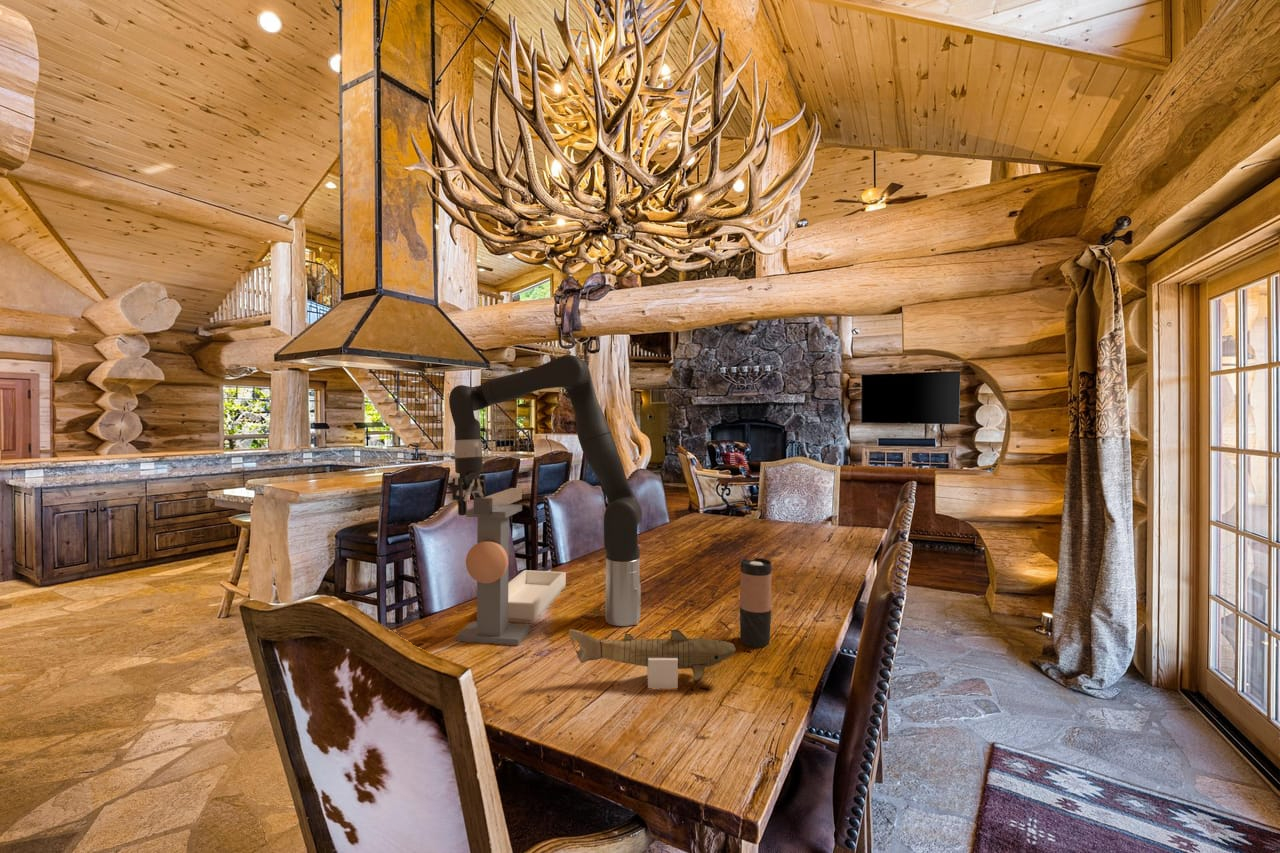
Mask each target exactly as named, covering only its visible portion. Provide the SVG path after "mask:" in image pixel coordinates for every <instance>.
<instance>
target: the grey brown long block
mask: <svg viewBox="0 0 1280 853" xmlns="http://www.w3.org/2000/svg"><path fill="white" fill-rule="evenodd" d="M522 499H523V488H521V487H518V488H517V487H510V488H507V489H504V490H502V491H499V492H495V493H492V494H490V495H487V496H486V495H485V496H483V498H479V497H476V498H474V497H473V508H474V514H477V515H491V514H492V511H494V510H497V509H499V508H501V507H504V506H506V505H509V504H513V503H516V502H518V501H520V500H522Z"/></svg>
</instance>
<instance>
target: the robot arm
mask: <svg viewBox="0 0 1280 853" xmlns="http://www.w3.org/2000/svg"><path fill="white" fill-rule="evenodd" d="M554 388H555V389H556V388H563V389H564V390H565V391H566V394H567V395H568V398H569V401H570V403H571V404H572V408H573V412H574V417H575V419H574V420H575V427H576V434H577V439H578V442H579V444H580V448H581V451H582V453H583V456H584V458H585V460H586V462H587V464H588V466H589V467H590V470H592V472H593V473H594V475H595V476H596V477H597V479H598V481H599V482H600V484H601V486H602V487H603V490H604V491H603V492H604V493H605V497H606V501H607V504H608V506H607V507H606V509H605V511H604V516H603V547H604V550H605V605H604V607H605V609H604V610H605V611H604V614H605V618H604V620H605V622H606V623H607V624H609V625H611V626H616V627H628V626H637V625H638V623H639V622H640V619H641V594H642V593H641V591H642V590H641V588H642V587H641V582H640V564H641V563H640V562H641V561H640V558H641V555H640V554H641V553H640V551H641V549H640V546H639V543H638V540H639V539H638V538H639V537H638V536H639V534H638V533H639V532H638V526H639V524H640V522H641V520H642V517H643V516H642V507H641V505H640V503H639V501H638V499H637V496H636V495H635V493H634V491H633V488H632V487H631V485H630V482H629V480H628V479H627V476H626V473H625V469H624V464H623V462H622V459H621V456H620V453H619V450H618V447H617V444H616V442H615V439H614V435H613V434H612V431H611V429H610V426H609V423H608V422H607V419H606V417H605V414H604V412H603V409H602V408H601V406H600V403H599V401H598V398H597V395H596V392H595V387H594V384H593V379H592V376H591V371H590V367H588V365H587V362H585V360H583V359H581V358H580V357H578V356H575V355H572V354H563V355H561V356H558V357H557V358H554V359H552V360H550V361H548V362H545V363H544V364H543V363H542V364H541V365H538V366H536V367H533V368H531V369H526V370H523V371H520V372H515V373H511V374H507V375H502V376H500V377H499V376H498V377H496V378H492V379H489V380H488V379H487V380H486V381H485V382H483V384H480V385H477V386H467V385H465V384H464V385H463V384H460V385H457V386H454V388H452V389H451V391H450V394H449V397H448V406H449V410H450V414H451V417H452V420H453V424H454V472H455V473H456V474H459V477H453V478H452V492H451V493H452V494H451V495H452V500H454V501H456V502H457V514H458V516H466V510H468V509H467V507H468V505H467V504H468V502H467V499H468V496H469V495H471V494H472V496H473V499H474V498H476V497H479V498H483V497H484V496H486V495H487V484H486V475H485V474H479V473H481V472H483V471H484V465H483V464H484V463H483V462H484V460H483V459H484V458H483V444H482V433H481V432H482V431H481V430H482V429H481V423H480V421H479V420H478V419H476V417H475V412H476V411H479V410H483V409H486V408H488V407H490V406H493V405H496V404H500V403H505V402H508V401H512V400H516V399H520V398H522V397H524V396H527V395H528V394H531V393H534V392H537V391H540V390H545V389H554Z"/></svg>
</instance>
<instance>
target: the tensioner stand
mask: <svg viewBox="0 0 1280 853" xmlns="http://www.w3.org/2000/svg"><path fill="white" fill-rule="evenodd" d="M522 511H523V504H516V503H515V504H513V503H511V504H509V505H506V506H504V507H501V508H499V509H497V510H494V511H492V514H491V515H477V514H474V507H472V508H469V509H467V510H466V515H465V517H466V518H477V525H476V526H477V528H476V529H477V530H476V531H477V535H476V537H477V540H476V541H477V543H476V544H475V545H473V546H472V547H470V549H469V550H468V552H467V554H466V557H465V567H466V570H467V572H468V573H469V575H470V577H471V578H472V579H473V580H475V581H476V621H475V620H472V621H471V622H470V623H468V624H467V625H466V626H465V627H463V628H462V630H460V631H459V632H458V633H457V634H455V641H456V640H457V641H456V642H461V641H470V642H469V643H474V642H481V643H480V644H488V643H496V644H495V645H501V644H506V645H505V646H514V645H516V646H515V647H518V646H519V645H520V644H521V643H522V642H523V641H524V640H525V639H526V637H527V636H528V635H529V634H530V633H531V632H532V624H521V623H519V624H518V623H509V621H508V583H509V561H510V560H509V557H510V556H509V548H510V545H509V542H510V540H509V539H510V538H509V535H510V534H509V533H510V532H509V530H510V529H509V528H510V526H509V525H510V521H509V520H510V518H509V517H511V516H513V515H515V514H518V513H519V512H522ZM529 632H530V633H529ZM528 633H529V634H528ZM523 639H524V640H523ZM522 640H523V641H522ZM521 641H522V642H521Z"/></svg>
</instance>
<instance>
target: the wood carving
mask: <svg viewBox="0 0 1280 853" xmlns="http://www.w3.org/2000/svg"><path fill="white" fill-rule="evenodd" d="M670 633H671V634H670V635H671V636H670V638H668V639H667V638H634V636H633V635H631V634H630V633H625V634H624V637H623V638H621V639H612V640H610V639H607V640H606V641H605V638H602V639H600V640H598V639H597V638H595V637H593V636H591V635H589V634H587V633H585V632H583V631H581V630H576V629H569V630H568V637H569V640H570V642H571V644H572V646H573V648H574V651H575V653H576V655H577V658H578V661H579V662H580V663H582V664H583V663H586V662H589V661H596V660H597V661H598V660H601V659H607V660H609V661H610V660H611V661H613V662H619V663H622V664H628V665H629V664H630V665H635V666H640V667H641V666H642V667H647V668H646V672H647V673H646V678H647V679H648V680H647V689H648V688H656V689H655V690H661V689H660V688H666V689H665V690H672V689H671V688H678V680H679V679H678V677H679V675H678V674H679V671H678V669H679V670H681V669H685V670H686V669H690V670H692V675H693V683H697V682H699V681H701V679H702V678H703V676H704V673H705V669H706V668H709V667H713V666H716V665H718V664H720V663H721V662H723V661H724V660H727V659H728V658H730V657H731V656H733V655H734V654H735V652H736V646H735V644H734V643H732V642H728V641H724V640H718V639H717V640H716V639H712V638H693V637H692V638H690V637H689V638H688V637H687V636H686V635H685V634H684V633H683V632H682V631H680V630H679V629H670ZM575 641H576V642H577V643H578V645H579V650H577V648H576V646H575ZM667 688H668V689H667Z"/></svg>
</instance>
